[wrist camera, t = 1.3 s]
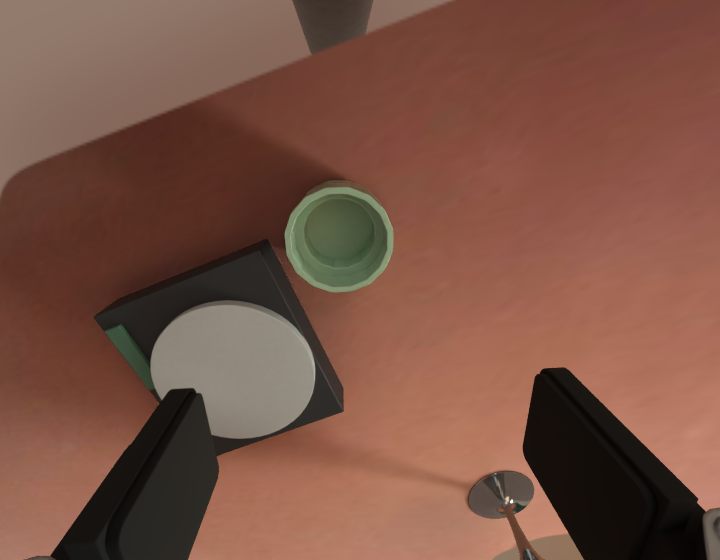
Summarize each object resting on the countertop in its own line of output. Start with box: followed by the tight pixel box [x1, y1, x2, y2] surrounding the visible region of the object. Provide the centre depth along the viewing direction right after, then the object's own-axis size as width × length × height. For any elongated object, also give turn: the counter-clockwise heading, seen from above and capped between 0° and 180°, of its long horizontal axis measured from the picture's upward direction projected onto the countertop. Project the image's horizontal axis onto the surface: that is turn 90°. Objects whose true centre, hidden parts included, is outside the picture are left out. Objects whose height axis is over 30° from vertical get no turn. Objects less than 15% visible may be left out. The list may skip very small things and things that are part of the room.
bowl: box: [284, 180, 393, 292], centre depth 24 cm, size 7×7×5 cm
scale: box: [94, 239, 344, 456], centre depth 28 cm, size 15×13×4 cm
